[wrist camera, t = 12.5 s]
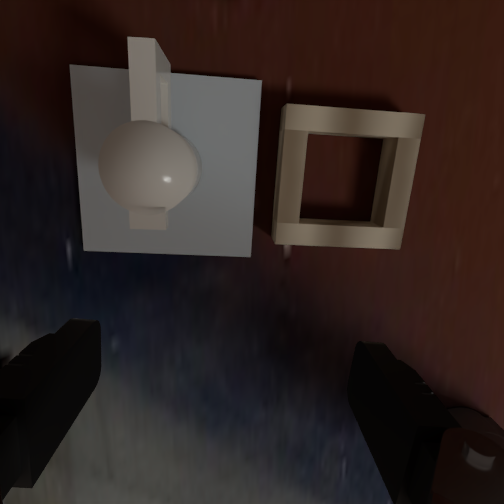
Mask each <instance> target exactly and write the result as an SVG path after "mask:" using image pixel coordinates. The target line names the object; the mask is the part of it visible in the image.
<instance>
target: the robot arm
mask: <svg viewBox="0 0 504 504" xmlns="http://www.w3.org/2000/svg"><path fill="white" fill-rule="evenodd" d="M100 372H101V327H100V323H99V321H98V320H87V319H74V318H72V319H70V320H69V321H68V322H67V323H65V324H64V325H63V326H62V327H61V328H60V329H59V330H58V331H57V332H56V333H55V334H51V333H49V334H47V335H45V336H43V337H41V338H39V339H37V340H35V341H33V342H31V343H30V344H29V345H28V346H27V347H26V348H24V349H23V350H22V351H21V352H20V353H19V356H18V355H17V356H15V357H14V358H13V359H12V360H11V361H10V362H9V364H8V365H5V366H4V367H3V368H2V369H1V370H0V504H3V502H2V500H3V499H4V498H5V496H6V495H7V493H8V492H9V490H10V489H11V488H12V487H19V488H32V487H33V486H34V484H35V483H36V481H37V480H38V478H39V476H40V475H41V473H42V472H43V470H44V468H45V467H46V465H47V464H48V462H49V460H50V459H51V457H52V456H53V454H54V453H55V451H56V449H57V448H58V446H59V445H60V443H61V441H62V440H63V438H64V437H65V435H66V433H67V432H68V430H69V429H70V427H71V426H72V424H73V422H74V421H75V419H76V418H77V416H78V414H79V413H80V411H81V410H82V408H83V406H84V405H85V403H86V402H87V400H88V398H89V397H90V395H91V394H92V392H93V391H94V389H95V387H96V385H97V383H98V380H99V377H100ZM347 392H348V400H349V404H350V407H351V409H352V411H353V413H354V416H355V418H356V420H357V422H358V425H359V427H360V429H361V431H362V434H363V436H364V438H365V440H366V443H367V445H368V447H369V449H370V452H371V454H372V456H373V458H374V461H375V463H376V465H377V467H378V470H379V472H380V474H381V476H382V479H383V481H384V483H385V486H386V488H387V490H388V492H389V495H390V497H391V499H392V501H393V504H504V430H503V429H502V428H501V427H500V426H499V425H498V424H497V423H496V422H495V421H494V420H493V419H492V418H491V417H483V416H482V415H481V414H479V413H478V412H477V411H475V410H472V409H469V408H463V407H457V408H451V409H446V407H445V406H444V405H443V404H442V402H441V401H440V400H439V399H438V398H437V396H436V395H434V394H433V392H432V390H431V389H430V388H429V387H428V385H425V382H424V381H423V379H422V378H421V377H420V376H419V374H418V373H417V372H416V371H415V370H414V369H412V368H411V367H409V366H408V365H407V364H405V363H404V362H403V361H401V360H397V359H396V358H395V356H394V355H393V354H392V353H391V351H390V350H389V349H388V347H387V346H386V345H385V344H384V343H377V342H364V341H359V342H358V343H357V345H356V347H355V352H354V356H353V361H352V366H351V371H350V376H349V381H348V388H347Z"/></svg>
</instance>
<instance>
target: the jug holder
mask: <svg viewBox="0 0 504 504" xmlns="http://www.w3.org/2000/svg"><path fill="white" fill-rule="evenodd" d="M424 119H425V114H415V113H402V112H389V111H376V110H363V109H350V108H338V107H325V106H312V105H299V104H286V105H285V106H283V107H282V108H281V118H280V131H279V144H278V156H277V169H276V182H275V194H274V207H273V220H272V232H271V237H272V239H273V241H274V243H275V244H285V245H309V246H333V247H357V248H381V249H400V247H401V241H402V236H403V231H404V225H405V220H406V215H407V209H408V204H409V199H410V193H411V188H412V183H413V177H414V172H415V167H416V161H417V156H418V151H419V145H420V140H421V135H422V129H423V124H424ZM308 134H322V135H337V136H351V137H365V138H379V139H383V144H382V151H381V157H380V163H379V170H378V176H377V182H376V189H375V195H374V201H373V207H372V214H371V220H370V222H368V221H348V220H327V219H307V218H299V216H300V207H301V197H302V187H303V177H304V167H305V157H306V147H307V137H308Z"/></svg>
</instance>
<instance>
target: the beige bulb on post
mask: <svg viewBox="0 0 504 504" xmlns="http://www.w3.org/2000/svg"><path fill="white" fill-rule="evenodd" d="M128 59H129V82H130V105H131V121H130V122H127V123H124V124H122V125H120V126H119V127H117V128H116V129H114V130H113V131H112V132H111V133H110V134H109V135H108V136H107V138H106V139H105V141H104V142H103V145H102V147H101V150H100V153H99V159H98V168H99V175H100V178H101V181H102V184H103V186H104V188H105V190H106V191H107V193H108V194H109V195H110V197H111V198H112V199H113V200H114V201H115V202H116V203H118V204H119V205H120V206H122V207H123V208H125V209H127V210H129V222H130V229H148V230H166V229H167V228H168V210H170V209H172V208H173V207H175V206H176V205H177V204H179V203H180V202H181V201H182V200H183V199H184V198H186V197H187V196H188V195H189V194H190V193H191V192H193V191H194V189H195V188H196V187H197V185H198V184H199V182H200V179H201V176H202V161H201V157H200V154H199V152H198V150H197V149H196V147H195V146H194V145H193V143H192V142H190V141H189V140H188V139H187V138H185V137H184V136H182V135H180V134H178V133H176V132H175V131H173V130H171V69H170V63H169V61H168V60H167V58H166V56H165V55H164V53H163V51H162V50H161V48H160V46H159V44H158V43H157V41H156V39H153V38H139V37H128Z"/></svg>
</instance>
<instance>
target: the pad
mask: <svg viewBox="0 0 504 504" xmlns="http://www.w3.org/2000/svg"><path fill="white" fill-rule="evenodd" d="M69 65H70V64H69ZM70 78H71V91H72V104H73V117H74V130H75V143H76V156H77V169H78V182H79V195H80V208H81V221H82V234H83V247H84V251H105V252H131V253H157V254H183V255H210V256H236V257H251V245H252V229H253V213H254V197H255V181H256V166H257V150H258V134H259V118H260V102H261V86H262V80H250V79H238V78H226V77H214V76H202V75H190V74H178V73H171V130H173V131H175V132H176V133H178V134H180V135H182V136H184V137H185V138H187V139H188V140H189V141H190V142H192V143H193V145H194V146H195V147H196V149H197V150H198V152H199V154H200V157H201V161H202V176H201V179H200V182H199V184H198V185H197V187H196V188H195V189H194V191H193V192H191V193H190V194H189V195H188V196H187V197H186V198H184V199H183V200H182V201H181V202H180V203H179V204H177V205H176V206H175V207H173V208H172V209H170V210H168V228H167V229H166V230H148V229H130V222H129V210H127V209H125V208H123V207H122V206H120V205H119V204H118V203H116V202H115V201H114V200H113V199H112V198H111V197H110V195H109V194H108V193H107V191H106V190H105V188H104V186H103V184H102V181H101V178H100V175H99V168H98V159H99V153H100V150H101V147H102V145H103V142H104V141H105V139H106V138H107V136H108V135H109V134H110V133H111V132H112V131H113V130H114V129H116V128H117V127H119V126H120V125H122V124H124V123H127V122H130V121H131V105H130V82H129V69H118V68H106V67H94V66H82V65H70Z"/></svg>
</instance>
